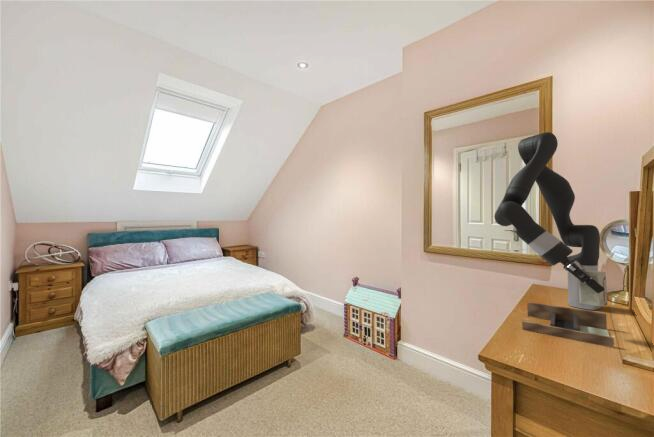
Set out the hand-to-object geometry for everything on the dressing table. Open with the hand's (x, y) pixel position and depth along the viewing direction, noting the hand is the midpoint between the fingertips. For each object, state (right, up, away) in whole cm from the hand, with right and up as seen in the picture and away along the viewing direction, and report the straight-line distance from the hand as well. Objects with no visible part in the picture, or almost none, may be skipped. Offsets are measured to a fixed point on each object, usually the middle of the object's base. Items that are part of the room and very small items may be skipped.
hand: (600, 289), depth 83 cm
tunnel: (-6, -14, +5) cm, 16 cm away
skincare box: (-1, -5, +1) cm, 5 cm away
